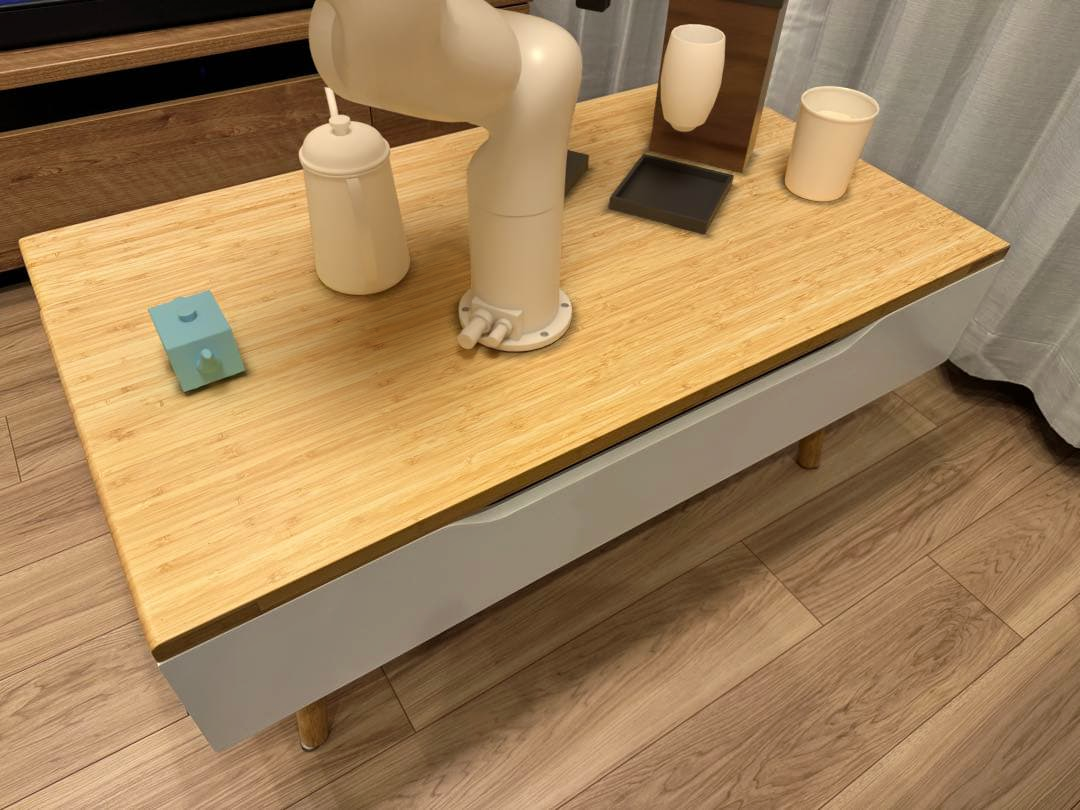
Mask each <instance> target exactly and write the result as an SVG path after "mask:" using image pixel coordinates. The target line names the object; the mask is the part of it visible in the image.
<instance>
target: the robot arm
mask: <svg viewBox="0 0 1080 810" xmlns="http://www.w3.org/2000/svg"><path fill="white" fill-rule="evenodd" d="M611 2H612V0H575V7H576V8H577V9H580V10H586V11H591V12H597V13H604V12H605V11H606V10H607V9H608V8H610V7H611V4H612V3H611ZM312 6H313V7H312V8H311V13H310V16H309V23H308V43H309V50H310V53H311V55H310V56H311V58H312V61H313V64H314V66H315V68H316V71H317V72H318V74H319V76H320V78H321V80H322V81H323V82H324V84H325V85H326V86H327V87H329V88H330V89H331V90H332V91H333V92H334V94H336V95H337V96H339V97H340V98H342V99H344V100H347V101H349V102H352V103H356V104H360V105H363V106H368V107H370V108H371V107H372V108H376V109H381V110H383V111H389V112H393V113H397V114H401V115H405V116H409V117H414V118H419V119H423V120H428V121H435V122H444V123H465V122H466V123H468V124H471V125H475V126H478V127H481V128H483V129H485V130H486V131H487V132H488V137H487V139H485V141H484V142H483V143H482V144H480V146H478V147H477V149H476V150H475V151H474V153H473V154H472V156H471V157H470V159H469V161H468V165H467V170H466V181H465V183H466V199H467V219H468V221H467V222H468V241H469V260H470V262H469V263H470V281H471V282H470V283H471V287H469V288H468V289H467V290H466V291H465V293H464V294H463V295H462V297H461V298H460V300H459V302H458V308H457V309H458V319H459V323H460V326H461V328H462V330H461V331H460V333H459V334H458V335H457V336H456V341H457V343H458V345H459V346H460V347H462V348H464V349H466V350H472V349H473V348H474V346H475V345H476V344H477V343H479V344H481V345H483V346H485V347H488V348H491V349H495V350H497V351H504V352H526V351H533V350H537V349H541V348H544V347H545V346H546V347H547V346H548V345H551V344H552V343H554V342H556V341H557V340H559V339H561V338H562V337H563V336H564V334H566V332H567V331H568V329H569V328H570V326H571V323H572V319H573V305H572V302H571V299H570V297H569V296H568V295H567V293H566V292H565V291H564V290H563V289H562V288H561V285H560V283H561V267H562V266H561V264H562V248H563V247H562V246H563V228H564V227H563V225H564V210H565V197H564V191H565V174H566V161H567V151H568V150H569V142H570V135H571V130H572V125H573V120H574V115H575V111H576V108H577V107H576V106H577V102H578V98H579V94H580V89H581V84H582V80H583V79H582V78H583V55H582V51H581V49H580V46H579V44H578V42H577V40H576V39H575V38H574V36H573V35H572V34H571V33H570V32H569V31H567V29H565V28H564V27H562V26H561V25H559V24H558V23H555V22H553V21H551V20H548V19H546V18H543V17H539V16H536V15H531V14H528V13H523V12H517V11H512V10H508V9H507V10H506V9H502V8H497V7H494V6H492V5H491V4H490V3H489V2H488V1H487V0H315V1H314V4H313V5H312Z"/></svg>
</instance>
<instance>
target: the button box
mask: <svg viewBox="0 0 1080 810" xmlns="http://www.w3.org/2000/svg"><path fill="white" fill-rule="evenodd" d="M589 160H590V154H587V153H583V152H578V151H575V150H570V149H568V151H567V161H566V174H565V191H564V198H566V196H567V195H568V194H569V192H570V191H571V190H572V189H573V188H574V186H576V184H577V183H578V181H579V180H580V179H581V178H582V177H583V176H584V175H585V173H586V172H587V171H588V170H589V162H590V161H589Z"/></svg>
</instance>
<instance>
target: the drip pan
mask: <svg viewBox="0 0 1080 810" xmlns="http://www.w3.org/2000/svg"><path fill="white" fill-rule="evenodd" d="M734 177H735V175H734V174H731V173H728V172H724V171H718V170H714V169H711V168H706V167H702V166H698V165H693V164H689V163H685V162H680V161H676V160H672V159H667V158H664V157H659V156H655V155H652V154H648V153H642V154H641V155H640V157H639V158H638V160H637V161H636V162H635V164H634V165H633V166H632V167H631V169H630V170H629V172H628V173H627V174H626V175H625V177H624V178H623V179H622V181H621V182H620V183H619V185H618V186H617V187H616V189H615V190H614V191H613V193H612V194H611V195H610V197H609V202H608V210H610V211H613V212H617V213H618V212H619V213H622V214H626V215H630V216H634V217H637V218H641V219H645V220H649V221H653V222H657V223H660V224H663V225H668V226H671V227H676V228H678V229H683V230H687V231H691V232H695V233H698V234H703V235H706V234H707V231H709V229H710V226H711V224H712V222H713V221H714V219H715V217H716V216H717V214H718V213H719V212H718V211H719V210H720V208H721V207H722V205H723V203H724V201H725V199H726V197H727V195H728V193H729V192H730V190H731V188H732V186H733V183H734Z"/></svg>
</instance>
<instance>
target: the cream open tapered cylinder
mask: <svg viewBox="0 0 1080 810" xmlns="http://www.w3.org/2000/svg"><path fill="white" fill-rule="evenodd" d="M799 100H800V101H799V108H798V112H797V116H796V117H797V118H796V121H795V122H796V123H795V126H794V131H793V136H792V142H791V146H790V151H789V155H788V158H787V159H788V160H787V165H786V170H785V174H784V185H785V187H786V189H788V191H789V192H791V193H792V194H793V195H795V196H798V197H799V198H802V199H805V200H808V201H813V202H831V201H832V202H833V201H836V200H838V199H840V198H841V197H843V196H844V194H845V193H846V191H847V188H848V187H849V185H850V181H851V179H852V177H853V174H854V172H855V169H856V167H857V165H858V162H859V160H860V158H861V155H862V153H863V150H864V148H865V145H866V143H867V141H868V138H869V135H870V134H871V131H872V129H873V126H874V124H875V121H876V119H877V117H878V115H879V114H880V105H879V103H878V102H877V101H876V100H875V99H874V97H871V96H870V95H868V94H866V93H864V92H861V91H859V90H855V89H853V88H848V87H844V86H836V85H835V86H834V85H824V86H815V87H812V88H809V89H807V90H805V91H804V92H803V93H802V94H801V96H800V99H799Z"/></svg>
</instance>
